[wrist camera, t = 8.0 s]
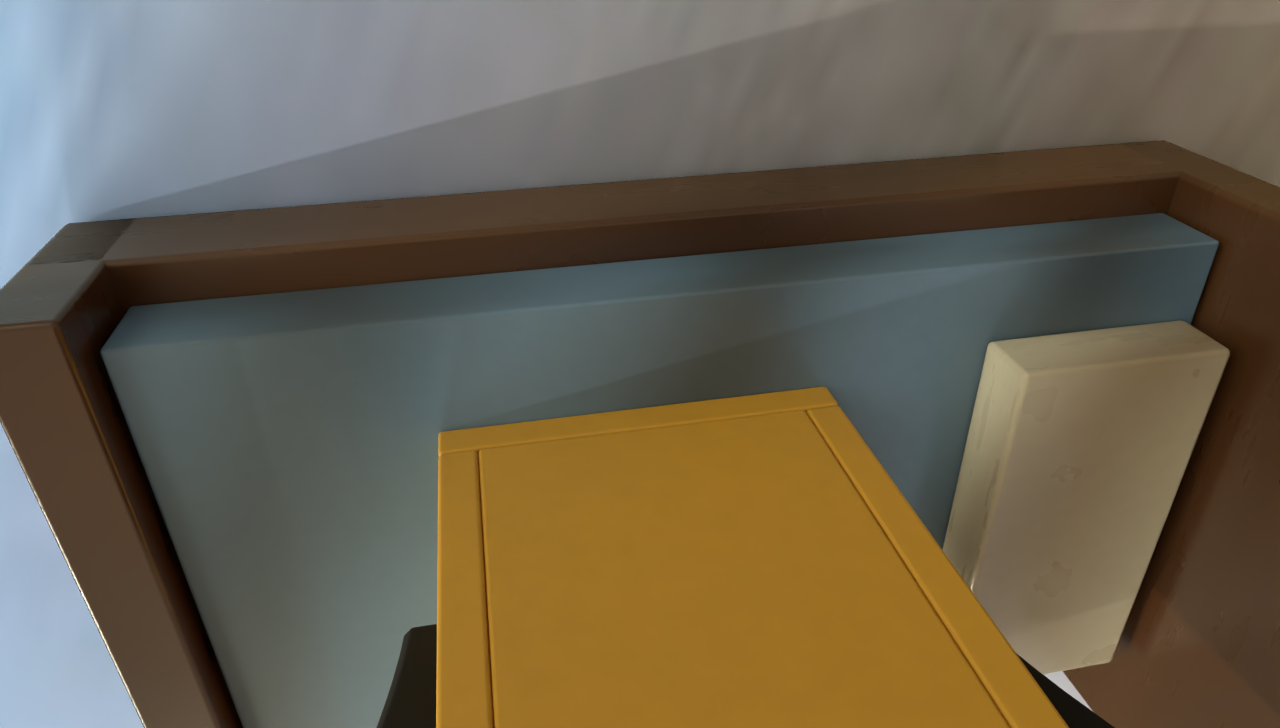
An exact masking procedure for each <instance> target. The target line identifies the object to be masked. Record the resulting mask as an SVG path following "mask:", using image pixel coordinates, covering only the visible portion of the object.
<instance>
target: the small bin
mask: <svg viewBox="0 0 1280 728" xmlns="http://www.w3.org/2000/svg"><path fill="white" fill-rule="evenodd" d="M438 455H439V459H438V557H437V678H436V728H1069V727H1068V725H1067V724H1066V722H1065V721H1064V720H1063V718H1062V717H1061V715H1060V714H1059V713H1058V711H1057V710H1056V708H1055V707H1054V706H1053V704H1052V703H1051V701H1050V700H1049V699H1048V697H1047V696H1046V694H1045V693H1044V692H1043V690H1042V689H1041V687H1040V686H1039V685H1038V683H1037V682H1036V680H1035V679H1034V678H1033V676H1032V675H1031V673H1030V672H1029V671H1028V669H1027V668H1026V666H1025V665H1024V664H1023V662H1022V661H1021V659H1020V658H1019V657H1018V655H1017V654H1016V652H1015V651H1014V650H1013V648H1012V647H1011V645H1010V644H1009V643H1008V641H1007V640H1006V638H1005V637H1004V636H1003V634H1002V633H1001V631H1000V630H999V629H998V627H997V626H996V624H995V623H994V622H993V620H992V619H991V617H990V616H989V615H988V613H987V612H986V610H985V609H984V608H983V606H982V605H981V603H980V602H979V601H978V599H977V598H976V596H975V595H974V594H973V592H972V591H971V589H970V588H969V587H968V585H967V584H966V582H965V581H964V580H963V578H962V577H961V575H960V574H959V573H958V571H957V570H956V568H955V567H954V566H953V564H952V563H951V561H950V560H949V559H948V557H947V556H946V554H945V553H944V552H943V550H942V549H941V547H940V546H939V545H938V543H937V542H936V540H935V539H934V538H933V536H932V535H931V533H930V532H929V531H928V529H927V528H926V526H925V525H924V524H923V522H922V521H921V519H920V518H919V517H918V515H917V514H916V512H915V511H914V510H913V508H912V507H911V505H910V504H909V503H908V501H907V500H906V498H905V497H904V496H903V494H902V493H901V491H900V490H899V489H898V487H897V486H896V484H895V483H894V482H893V480H892V479H891V477H890V476H889V475H888V473H887V472H886V470H885V469H884V468H883V466H882V465H881V463H880V462H879V461H878V459H877V458H876V456H875V455H874V454H873V452H872V451H871V449H870V448H869V447H868V445H867V444H866V442H865V441H864V440H863V438H862V437H861V435H860V434H859V433H858V431H857V430H856V428H855V427H854V426H853V424H852V423H851V421H850V420H849V419H848V417H847V416H846V414H845V413H844V412H843V410H842V409H841V407H839V406H838V403H837V401H836V400H835V399H834V397H833V396H832V394H831V393H830V392H829V390H828V389H827V387H815V388H806V389H798V390H789V391H781V392H772V393H764V394H756V395H747V396H739V397H730V398H722V399H713V400H705V401H696V402H688V403H679V404H671V405H663V406H654V407H646V408H637V409H629V410H620V411H612V412H603V413H595V414H587V415H578V416H570V417H561V418H553V419H544V420H536V421H527V422H519V423H510V424H502V425H494V426H485V427H477V428H468V429H460V430H451V431H443V432H440V433H439V436H438Z"/></svg>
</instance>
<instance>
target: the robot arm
mask: <svg viewBox="0 0 1280 728" xmlns="http://www.w3.org/2000/svg"><path fill="white" fill-rule="evenodd" d="M1016 654H1017V653H1016ZM1017 655H1018V654H1017ZM1018 657H1019V658H1020V659H1021V661H1022V662H1023V664H1024V665H1025V666H1026V668H1027V669H1028V671H1029V672H1030V673H1031V675H1032V676H1033V678H1034V679H1035V680H1036V682H1037V683H1038V685H1039V686H1040V687H1041V689H1042V690H1043V692H1044V693H1045V694H1046V696H1047V697H1048V699H1049V700H1050V701H1051V703H1052V704H1053V706H1054V707H1055V708H1056V710H1057V711H1058V713H1059V714H1060V715H1061V717H1062V718H1063V720H1064V721H1065V722H1066V724H1067V725H1068V727H1069V728H1115V727H1113V726H1112V725H1111V724H1109V723H1108V722H1106V721H1105V720H1104V719H1102V718H1101V717H1100V716H1098V715H1097V714H1095V713H1094V712H1093V711H1092V710H1091V709H1090V707H1089V706H1088V705H1087V703H1086V702H1085V701H1084V699H1083V698H1082V697H1081V695H1080V694H1079V693H1078V691H1077V690H1076V689H1075V687H1074V686H1073V685H1072V683H1071V682H1070V681H1069V679H1068V678H1067V677H1066V675H1065V674H1064V673H1063V671H1060V672H1054V673H1048V674H1042V673H1040V672H1039V671H1038V670H1037V669H1035V668H1034V667H1033V666H1032V665H1030V664H1029V663H1028V662H1027V661H1025V660H1024V659H1023V658H1022V657H1020V656H1019V655H1018ZM436 678H437V624H433V625H426V626H420V627H413V628H411V629H410V630H409V631H408V632H407V633H406V634H405V635H404V638H403V642H402V647H401V652H400V656H399V659H398V663H397V666H396V670H395V674H394V677H393V680H392V684H391V687H390V690H389V693H388V696H387V699H386V702H385V705H384V708H383V711H382V713H381V716H380V719H379V722H378V725H377V728H436Z"/></svg>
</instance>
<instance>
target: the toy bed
mask: <svg viewBox="0 0 1280 728" xmlns="http://www.w3.org/2000/svg"><path fill="white" fill-rule="evenodd" d="M815 387H827V389H828V390H829V392H830V393H831V394H832V396H833V397H834V399H835V400H836V401H837V403H838V406H839V407H841V409H842V410H843V412H844V413H845V414H846V416H847V417H848V419H849V420H850V421H851V423H852V424H853V426H854V427H855V428H856V430H857V431H858V433H859V434H860V435H861V437H862V438H863V440H864V441H865V442H866V444H867V445H868V447H869V448H870V449H871V451H872V452H873V454H874V455H875V456H876V458H877V459H878V461H879V462H880V463H881V465H882V466H883V468H884V469H885V470H886V472H887V473H888V475H889V476H890V477H891V479H892V480H893V482H894V483H895V484H896V486H897V487H898V489H899V490H900V491H901V493H902V494H903V496H904V497H905V498H906V500H907V501H908V503H909V504H910V505H911V507H912V508H913V510H914V511H915V512H916V514H917V515H918V517H919V518H920V519H921V521H922V522H923V524H924V525H925V526H926V528H927V529H928V531H929V532H930V533H931V535H932V536H933V538H934V539H935V540H936V542H937V543H938V545H939V546H940V547H941V549H942V550H943V552H944V553H945V554H946V556H947V557H948V559H949V560H950V561H951V563H952V564H953V566H954V567H955V568H956V570H957V571H958V573H959V574H960V575H961V577H962V578H963V580H964V581H965V582H966V584H967V585H968V587H969V588H970V589H971V591H972V592H973V594H974V595H975V596H976V598H977V599H978V601H979V602H980V603H981V605H982V606H983V608H984V609H985V610H986V612H987V613H988V615H989V616H990V617H991V619H992V620H993V622H994V623H995V624H996V626H997V627H998V629H999V630H1000V631H1001V633H1002V634H1003V636H1004V637H1005V638H1006V640H1007V641H1008V643H1009V644H1010V645H1011V647H1012V648H1013V650H1014V651H1015V652H1016V653H1017V654H1018V655H1019V656H1020V657H1022V658H1023V659H1024V660H1025V661H1027V662H1028V663H1029V664H1030V665H1032V666H1033V667H1034V668H1035V669H1037V670H1038V671H1039V672H1040V673H1042V674H1048V673H1054V672H1060V671H1063V673H1064V674H1065V675H1066V677H1067V678H1068V679H1069V681H1070V682H1071V683H1072V685H1073V686H1074V687H1075V689H1076V690H1077V691H1078V693H1079V694H1080V695H1081V697H1082V698H1083V699H1084V701H1085V702H1086V703H1087V705H1088V706H1089V707H1090V709H1091V710H1092V711H1093V712H1094V713H1095V714H1097V715H1098V716H1100V717H1101V718H1102V719H1104V720H1105V721H1106V722H1108V723H1109V724H1111V725H1112V726H1113V727H1115V728H1280V187H1277V186H1275V185H1272V184H1270V183H1267V182H1265V181H1262V180H1260V179H1257V178H1255V177H1252V176H1250V175H1247V174H1245V173H1242V172H1240V171H1237V170H1235V169H1233V168H1230V167H1228V166H1226V165H1223V164H1221V163H1218V162H1216V161H1213V160H1211V159H1208V158H1206V157H1203V156H1201V155H1198V154H1196V153H1193V152H1191V151H1189V150H1186V149H1184V148H1181V147H1179V146H1176V145H1174V144H1171V143H1169V142H1166V141H1152V142H1139V143H1126V144H1112V145H1099V146H1086V147H1073V148H1060V149H1046V150H1033V151H1020V152H1007V153H994V154H981V155H967V156H954V157H941V158H928V159H915V160H902V161H888V162H875V163H862V164H849V165H836V166H822V167H809V168H796V169H783V170H770V171H757V172H743V173H730V174H717V175H704V176H691V177H677V178H664V179H651V180H638V181H625V182H612V183H598V184H585V185H572V186H559V187H546V188H532V189H519V190H506V191H493V192H480V193H467V194H453V195H440V196H427V197H414V198H401V199H388V200H374V201H361V202H348V203H335V204H322V205H308V206H295V207H282V208H269V209H256V210H243V211H229V212H216V213H203V214H190V215H177V216H163V217H150V218H134V219H121V220H108V221H94V222H81V223H69V224H67V225H65V226H64V227H63V228H62V229H61V230H60V231H59V232H58V233H57V234H56V235H55V236H54V237H53V238H52V239H51V240H50V241H49V242H48V243H47V244H46V245H45V246H44V247H43V248H42V249H41V250H40V251H39V252H38V253H37V254H36V255H35V256H34V257H33V258H32V259H31V260H30V261H29V262H28V263H27V264H26V265H25V266H24V267H23V268H22V269H21V270H20V271H19V272H18V273H17V274H16V275H15V276H14V277H13V278H12V279H11V280H10V281H9V282H8V283H7V284H6V285H5V286H4V287H3V288H2V289H1V290H0V423H1V425H2V427H3V429H4V431H5V433H6V435H7V437H8V440H9V442H10V444H11V446H12V448H13V450H14V452H15V454H16V457H17V459H18V461H19V463H20V465H21V467H22V469H23V471H24V474H25V476H26V478H27V480H28V482H29V484H30V486H31V488H32V491H33V493H34V495H35V497H36V499H37V501H38V503H39V505H40V508H41V510H42V512H43V514H44V516H45V518H46V520H47V522H48V524H49V527H50V529H51V531H52V533H53V535H54V537H55V539H56V541H57V544H58V546H59V548H60V550H61V552H62V554H63V556H64V558H65V561H66V563H67V565H68V567H69V569H70V571H71V573H72V575H73V578H74V580H75V582H76V584H77V586H78V588H79V590H80V592H81V595H82V597H83V599H84V601H85V603H86V605H87V607H88V609H89V612H90V614H91V616H92V618H93V620H94V622H95V624H96V626H97V628H98V631H99V633H100V635H101V637H102V639H103V641H104V643H105V645H106V648H107V650H108V652H109V654H110V656H111V658H112V660H113V662H114V665H115V667H116V669H117V671H118V673H119V675H120V677H121V679H122V682H123V684H124V686H125V688H126V690H127V692H128V694H129V696H130V699H131V701H132V703H133V705H134V707H135V709H136V711H137V713H138V716H139V718H140V720H141V722H142V724H143V726H144V728H377V725H378V722H379V719H380V716H381V713H382V711H383V708H384V705H385V702H386V699H387V696H388V693H389V690H390V687H391V684H392V680H393V677H394V674H395V670H396V666H397V663H398V659H399V656H400V652H401V647H402V642H403V638H404V635H405V634H406V633H407V632H408V631H409V630H410V629H411V628H413V627H420V626H426V625H433V624H437V557H438V459H439V455H438V436H439V433H440V432H443V431H451V430H460V429H468V428H477V427H485V426H494V425H502V424H510V423H519V422H527V421H536V420H544V419H553V418H561V417H570V416H578V415H587V414H595V413H603V412H612V411H620V410H629V409H637V408H646V407H654V406H663V405H671V404H679V403H688V402H696V401H705V400H713V399H722V398H730V397H739V396H747V395H756V394H764V393H772V392H781V391H789V390H798V389H806V388H815Z"/></svg>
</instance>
